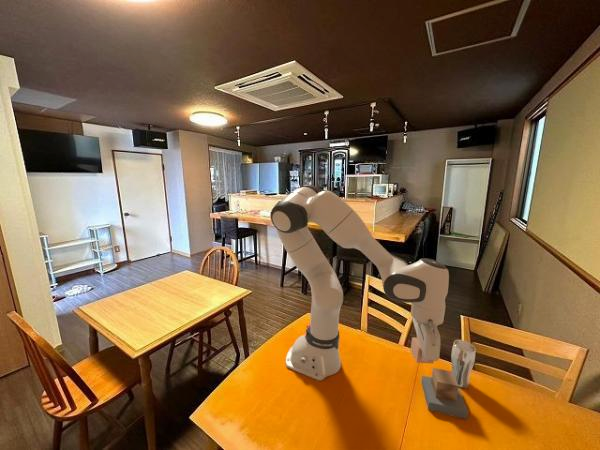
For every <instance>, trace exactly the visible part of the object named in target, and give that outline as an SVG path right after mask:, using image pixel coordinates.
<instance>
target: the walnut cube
mask: <svg viewBox="0 0 600 450" xmlns="http://www.w3.org/2000/svg"><path fill="white" fill-rule="evenodd" d="M431 377H432V380H431V384H432V387H433V390H434V394H435V397H437V398H442V399H446V400H451V401H455V402H456V400H457V393H458V387H459V386H458V383H457V381H456V379H455V376H454V374H453V372H452V370H447V369H441V368H436V367H433V368H432V373H431ZM459 388H460V387H459Z"/></svg>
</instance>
